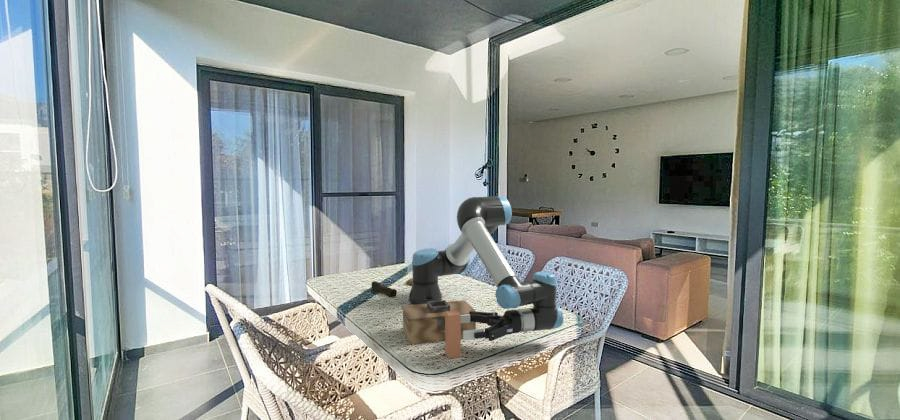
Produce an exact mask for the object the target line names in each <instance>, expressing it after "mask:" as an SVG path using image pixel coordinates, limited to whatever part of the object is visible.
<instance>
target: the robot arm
mask: <svg viewBox="0 0 900 420" xmlns="http://www.w3.org/2000/svg"><path fill="white" fill-rule="evenodd" d="M512 211H513V210H512V206H511V203H510V202H509V200H508V199H507V198H506V197H504V196H501V195H500V196H498V195H494V196H493V195H492V196H491V195H490V196H477V197H476V196H473V197H468V198H467V199H465V200H463V201H462V203H460V205H459V207H458V208H457V213H456V222H457V226H458V228H459V230H460V232H461V234H460V235H459V236H458V238H457V239H456V241H455V242H454V243H451V244H448V246H447V247H446V248H445V249H444V250H438V249H437V248H433V247H432V248H423V249H418V250H417V251H415V252H414V253H413V254H412V259H411V260H412V261H411V265H412V266H411V267H412V269H411V270H412V278H413V285H412V286H411V288H410V291H409V295H408V302H409V303H410V304H411V305H417V304H427V302H430V301H441V300H443V297H442V296H443V294H442V292H441V289H440V284H439V277H444V276H451V275H460V274H463V273H465V272H466V271H468V269H469V267H470V262H471V259H470V254H471V253H472V252H473V251H475V252H476V254H477V256H478V257H479V259H480V260H481V262H482V264H483V265H484V267H485V269H486V271H487V273H488V274H489V276H490V277H491V279H492V281H493V282H494V284H495V286H496V289H495V294H494V295H495V298H496V303H497V304H498V305H499V307H500V308H502V309H506V310H505V311H504V314H503V315H500V314H499V313H498V312H497V311H494V312H493V311H492V312H489V311H488V312H486V311H485V312H484V311H476V312H474V311H470V312H469V314H466V315H461V323H471V322H476V323H480V324H486V325H487V326H489V327H485V328H479V329H477V328H476V329H475V330H466V331H463V338H462V340H463V341H469V340H478V339H485V340H488V341H489V342H493V341H495V340H498V339H500V338H503V337H504V336H508V335H513V334H520V333H525V334H527V333H528V332H534V331H544V330H546V331H549V330H554V329H558V328H561V327H562V325H563V324H564V315H563V314H564V313H563V310H562V309H561V307H560V306H559V305H557V301H556V300H557V299H556V298H557V277H556V275H555V273H553V272H550V271H536V272H534V273H533V275H532V280H526V281H521V280H520V279H519V277H518V276H517V275H516V273H515V271H514V270H513V268H512V267H511V265H510V264H509V262H508V260H507V259H506V257H505V255H504V254H503V252H502V251H501V249H500V248H499V246H498V245H497V242H495V240H494V238H493V237H492V235H491V234H493V233H494V232H496V230H497V229H498V228H499V226H505V225H508V224H509V223H510V222H511V219H512V215H513V213H512ZM529 305H533V306H532V307H530V308H529V307H525V308H520V307H524V306H529ZM518 307H519V308H518Z"/></svg>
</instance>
